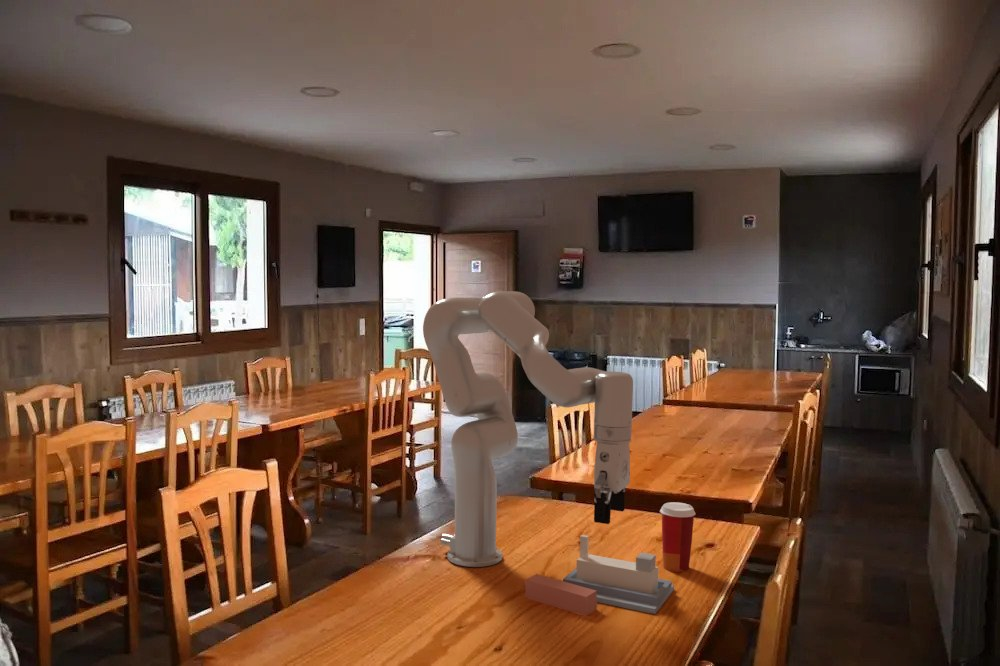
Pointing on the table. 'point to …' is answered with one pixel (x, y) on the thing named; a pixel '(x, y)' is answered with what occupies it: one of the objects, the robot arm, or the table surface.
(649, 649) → the table surface
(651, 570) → the white notched block
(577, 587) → the block
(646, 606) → the tray
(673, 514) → the paper cup
